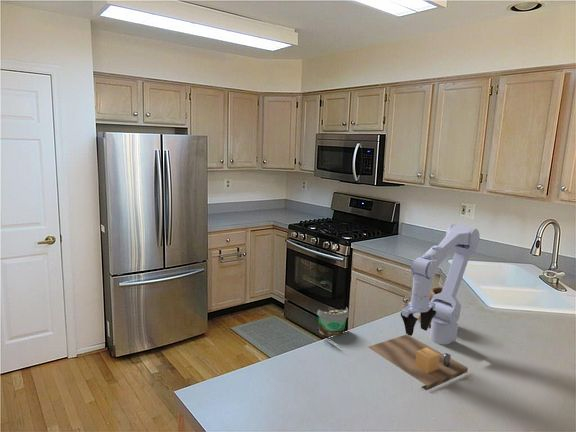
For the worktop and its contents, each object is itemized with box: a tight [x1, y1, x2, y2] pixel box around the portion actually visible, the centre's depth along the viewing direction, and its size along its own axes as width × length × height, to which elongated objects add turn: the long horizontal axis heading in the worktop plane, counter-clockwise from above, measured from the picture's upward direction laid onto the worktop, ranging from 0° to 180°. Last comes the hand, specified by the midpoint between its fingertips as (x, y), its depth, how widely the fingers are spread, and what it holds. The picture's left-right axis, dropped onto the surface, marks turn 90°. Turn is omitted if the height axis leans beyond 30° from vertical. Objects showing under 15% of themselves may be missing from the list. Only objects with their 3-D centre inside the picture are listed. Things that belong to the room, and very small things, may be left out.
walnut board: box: [367, 333, 469, 391], centre depth 130 cm, size 20×25×2 cm
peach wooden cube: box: [415, 348, 440, 373], centre depth 123 cm, size 5×5×5 cm
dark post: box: [443, 353, 451, 367], centre depth 125 cm, size 2×2×5 cm
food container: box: [316, 306, 350, 340], centre depth 143 cm, size 12×6×10 cm, turn 105°
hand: (416, 331), depth 130 cm, fingers open, 7 cm apart
